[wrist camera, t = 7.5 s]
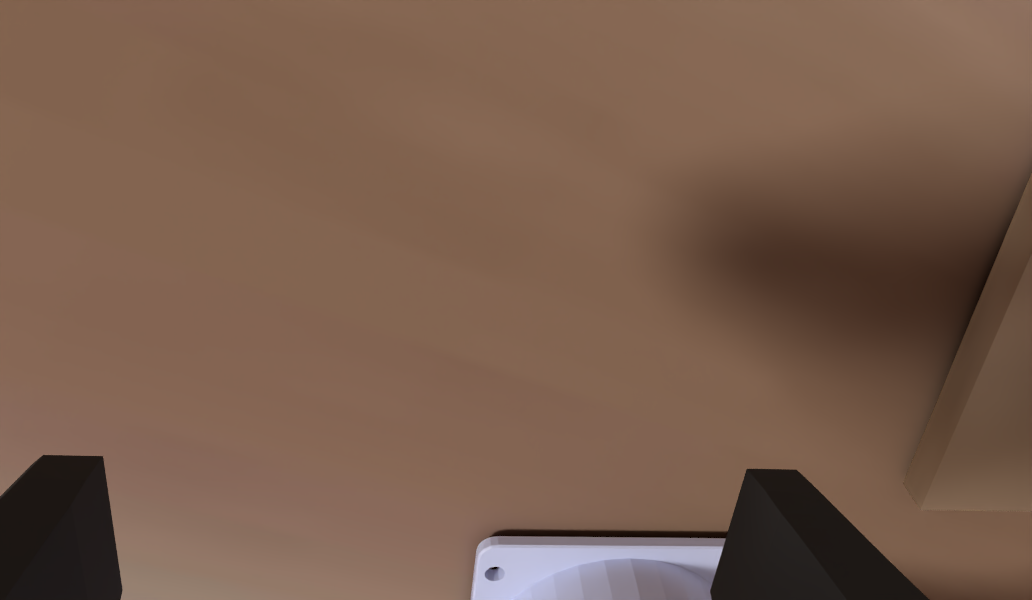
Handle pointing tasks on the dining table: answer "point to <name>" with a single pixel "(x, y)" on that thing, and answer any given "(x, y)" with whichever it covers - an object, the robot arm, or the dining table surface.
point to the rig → (986, 396)
